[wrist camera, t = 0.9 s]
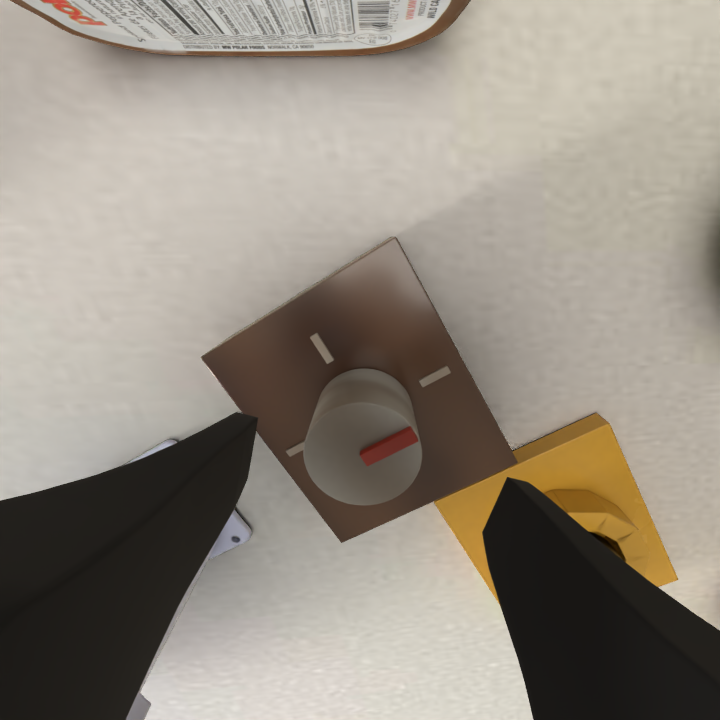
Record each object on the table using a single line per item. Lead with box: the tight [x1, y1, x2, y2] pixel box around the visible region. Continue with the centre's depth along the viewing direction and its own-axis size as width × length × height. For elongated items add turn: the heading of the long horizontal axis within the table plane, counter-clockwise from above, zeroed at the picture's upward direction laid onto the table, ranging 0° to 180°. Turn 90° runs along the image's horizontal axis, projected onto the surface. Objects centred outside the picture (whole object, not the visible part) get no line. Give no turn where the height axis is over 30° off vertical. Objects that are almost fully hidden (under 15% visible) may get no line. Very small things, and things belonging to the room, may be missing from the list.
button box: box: [434, 413, 678, 604], centre depth 21 cm, size 10×12×3 cm
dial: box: [303, 369, 422, 505], centre depth 15 cm, size 4×4×4 cm
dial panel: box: [201, 237, 518, 543], centre depth 18 cm, size 10×12×3 cm
